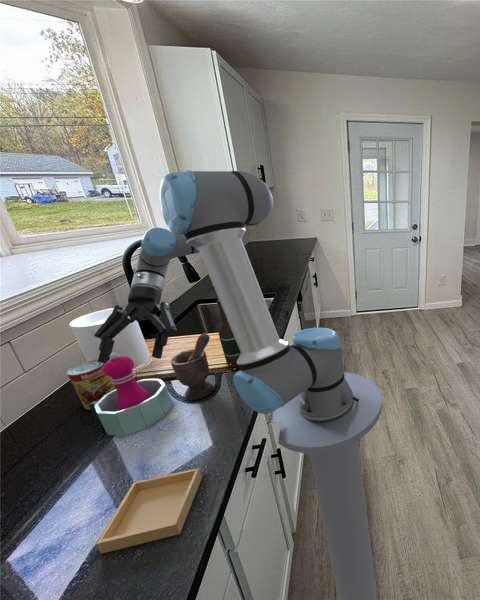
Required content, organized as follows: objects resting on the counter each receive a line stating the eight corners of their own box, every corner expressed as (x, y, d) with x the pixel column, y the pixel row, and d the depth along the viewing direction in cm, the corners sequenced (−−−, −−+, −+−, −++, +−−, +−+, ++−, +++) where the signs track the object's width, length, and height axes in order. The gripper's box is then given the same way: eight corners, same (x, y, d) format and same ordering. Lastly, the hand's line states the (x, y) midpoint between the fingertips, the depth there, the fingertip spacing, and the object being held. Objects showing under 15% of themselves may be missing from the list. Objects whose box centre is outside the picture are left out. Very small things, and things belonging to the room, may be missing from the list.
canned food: (105, 408, 91) (88, 373, 86) (76, 410, 90) (58, 375, 86) (125, 391, 98) (111, 358, 94) (99, 393, 98) (83, 360, 93)
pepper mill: (116, 426, 83) (86, 362, 76) (134, 408, 90) (107, 347, 83) (146, 422, 84) (119, 358, 77) (161, 404, 91) (137, 344, 84)
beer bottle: (254, 360, 112) (239, 298, 103) (231, 370, 106) (213, 305, 98) (245, 353, 117) (230, 293, 108) (223, 362, 111) (205, 299, 103)
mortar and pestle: (229, 379, 101) (213, 324, 94) (224, 395, 94) (206, 336, 86) (188, 388, 98) (168, 331, 91) (180, 405, 90) (157, 345, 83)
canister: (154, 351, 122) (136, 303, 114) (148, 370, 109) (128, 318, 102) (100, 364, 114) (78, 314, 107) (88, 386, 101) (61, 331, 94)
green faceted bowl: (180, 393, 96) (173, 374, 93) (156, 429, 82) (147, 407, 79) (115, 404, 92) (106, 384, 90) (80, 443, 78) (68, 421, 76)
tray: (202, 476, 68) (199, 467, 67) (179, 534, 57) (175, 524, 56) (138, 490, 65) (133, 481, 64) (101, 553, 54) (95, 544, 53)
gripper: (91, 288, 89) (67, 361, 81) (183, 281, 92) (169, 352, 83) (111, 298, 96) (92, 367, 88) (196, 292, 98) (186, 358, 90)
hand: (130, 360), depth 85 cm, fingers open, 13 cm apart
